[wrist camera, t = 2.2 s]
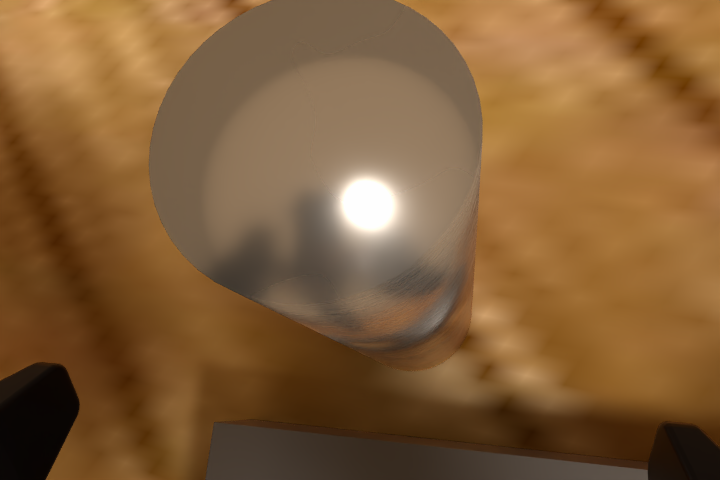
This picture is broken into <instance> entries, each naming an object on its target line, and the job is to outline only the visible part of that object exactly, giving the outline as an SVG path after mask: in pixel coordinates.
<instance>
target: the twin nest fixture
mask: <svg viewBox="0 0 720 480" xmlns="http://www.w3.org/2000/svg"><path fill="white" fill-rule="evenodd" d="M205 480H648V462H642V461H632V460H623V459H614V458H605V457H595V456H586V455H577V454H567V453H558V452H549V451H540V450H530V449H521V448H512V447H502V446H493V445H484V444H475V443H465V442H456V441H447V440H437V439H428V438H419V437H410V436H400V435H391V434H382V433H373V432H363V431H354V430H345V429H335V428H326V427H317V426H308V425H298V424H289V423H280V422H270V421H261V420H238V421H224V422H214V426H213V433H212V439H211V446H210V452H209V459H208V466H207V472H206V479H205Z"/></svg>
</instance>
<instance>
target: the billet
mask: <svg viewBox="0 0 720 480" xmlns="http://www.w3.org/2000/svg"><path fill="white" fill-rule="evenodd" d="M481 152H482V113H481V106H480V99H479V96H478V92H477V89H476V85H475V82H474V79H473V77H472V75H471V73H470V70H469V68H468V66H467V64H466V62H465V60H464V59H463V57H462V56H461V54H460V53H459V51H458V50H457V48H456V47H455V45H454V44H453V43H452V42H451V41H450V39H449V38H448V37H447V36H446V35H445V34H444V33H443V32H442V31H441V30H440V29H439V28H438V27H437V26H436V25H434V24H433V23H432V22H431V21H429V20H428V19H427V18H426V17H424V16H423V15H421V14H419V13H418V12H416V11H415V10H413V9H411V8H410V7H408V6H405V5H403V4H401V3H399V2H396V1H394V0H272V1H269V2H267V3H265V4H262V5H260V6H257V7H255V8H253V9H251V10H249V11H247V12H246V13H244V14H242V15H240V16H238V17H236V18H235V19H233V20H232V21H231V22H229V23H228V24H226V25H225V26H223V27H222V28H220V29H219V30H218V31H217V32H215V33H214V34H213V35H212V36H211V37H210V38H208V39H207V40H206V41H205V42H204V43H203V44H202V45H201V46H200V47H199V48H198V49H197V50H196V51H195V52H194V53H193V54H192V56H191V57H190V58H189V59H188V60H187V62H186V63H185V64H184V66H183V67H182V68H181V70H180V71H179V72H178V74H177V75H176V77H175V79H174V80H173V82H172V84H171V85H170V87H169V89H168V91H167V93H166V95H165V97H164V99H163V102H162V104H161V106H160V108H159V111H158V115H157V118H156V121H155V124H154V127H153V133H152V138H151V143H150V155H149V174H150V186H151V190H152V195H153V199H154V204H155V207H156V209H157V212H158V215H159V217H160V220H161V222H162V224H163V226H164V228H165V230H166V232H167V233H168V235H169V237H170V239H171V240H172V242H173V243H174V244H175V246H176V247H177V248H178V249H179V251H180V252H181V253H182V255H183V256H184V257H185V258H186V259H187V260H188V261H189V262H190V263H191V264H193V265H194V266H195V267H196V268H197V269H198V270H199V271H200V272H202V273H203V274H205V275H206V276H207V277H209V278H210V279H212V280H213V281H215V282H216V283H218V284H220V285H222V286H224V287H226V288H228V289H230V290H232V291H234V292H236V293H238V294H240V295H242V296H244V297H246V298H248V299H250V300H253V301H255V302H257V303H259V304H261V305H263V306H265V307H267V308H269V309H271V310H273V311H275V312H277V313H279V314H281V315H283V316H285V317H287V318H289V319H292V320H294V321H296V322H298V323H300V324H302V325H304V326H306V327H308V328H310V329H312V330H314V331H316V332H318V333H320V334H322V335H324V336H326V337H328V338H330V339H333V340H335V341H337V342H339V343H341V344H343V345H345V346H347V347H349V348H351V349H353V350H355V351H357V352H359V353H361V354H363V355H365V356H367V357H369V358H372V359H374V360H376V361H378V362H380V363H382V364H384V365H386V366H388V367H391V368H394V369H397V370H402V371H421V370H426V369H430V368H433V367H435V366H437V365H439V364H441V363H443V362H444V361H446V360H447V359H449V358H450V357H451V356H452V355H453V354H454V353H455V352H456V351H457V350H458V349H459V348H460V346H461V345H462V343H463V341H464V340H465V338H466V336H467V333H468V330H469V327H470V323H471V316H472V300H473V283H474V267H475V251H476V234H477V218H478V202H479V185H480V169H481Z"/></svg>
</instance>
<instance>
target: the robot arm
mask: <svg viewBox="0 0 720 480" xmlns="http://www.w3.org/2000/svg"><path fill="white" fill-rule="evenodd" d="M79 406H80V404H79V398H78V396H77V393H76V391H75V389H74V386H73V384H72V381H71V379H70V377H69V374H68V372H67V370H66V368H65V367H64V366H63V365H60V364H55V363H44V362H40V363H35V364H32V365H30V366H28V367H27V368H25V369H23V370H21V371H19V372H17V373H15V374H13V375H11V376H9V377H7V378H5V379H3V380H1V381H0V480H46V478H47V476H48V474H49V472H50V470H51V468H52V466H53V464H54V462H55V460H56V458H57V456H58V454H59V452H60V450H61V448H62V446H63V444H64V442H65V439H66V437H67V435H68V433H69V431H70V429H71V427H72V425H73V423H74V421H75V419H76V417H77V415H78V412H79ZM648 480H720V447H719V446H718V445H717V444H716V443H715V442H714V441H713V440H712V439H711V438H710V437H708V436H707V435H706V434H705V433H704V432H703V431H702V430H701V429H700V428H699V427H697V426H696V425H693V424H689V423H678V422H668V421H666V422H662V423H661V424H660V425H659V427H658V429H657V433H656V436H655V440H654V444H653V447H652V451H651V454H650V458H649V462H648Z"/></svg>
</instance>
